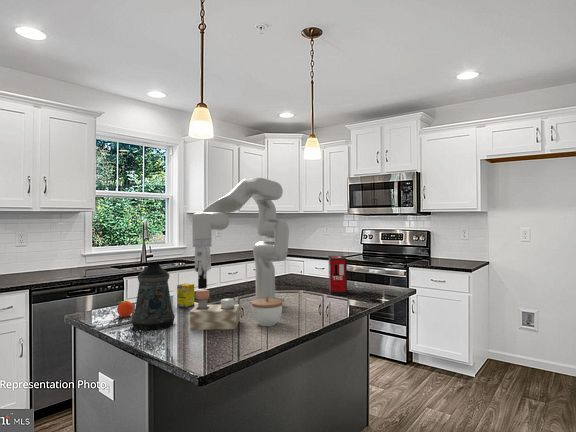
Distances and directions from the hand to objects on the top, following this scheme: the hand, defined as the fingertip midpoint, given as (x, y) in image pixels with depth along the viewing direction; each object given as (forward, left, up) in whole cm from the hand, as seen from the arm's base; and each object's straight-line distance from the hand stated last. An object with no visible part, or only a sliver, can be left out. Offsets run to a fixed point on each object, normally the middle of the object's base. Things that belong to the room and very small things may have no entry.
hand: (202, 288), depth 162 cm
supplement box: (+15, -34, -15) cm, 40 cm away
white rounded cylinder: (-10, 0, -14) cm, 17 cm away
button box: (-5, 0, -15) cm, 16 cm away
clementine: (+38, -16, -15) cm, 44 cm away
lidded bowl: (-26, -1, -15) cm, 30 cm away
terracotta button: (0, 0, -10) cm, 10 cm away
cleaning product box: (-64, -65, -15) cm, 93 cm away
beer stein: (+21, -2, -15) cm, 26 cm away
